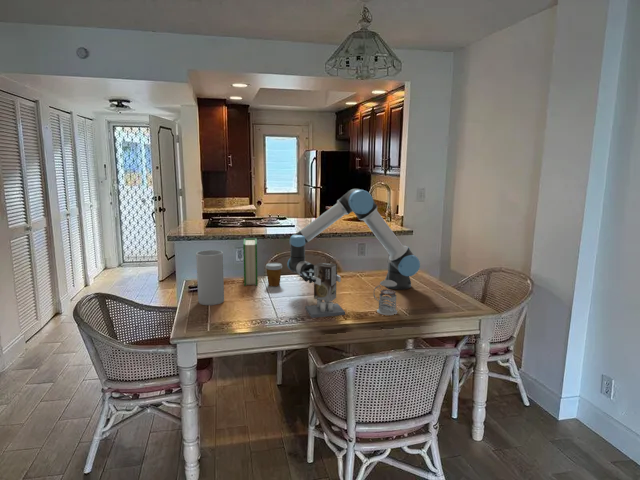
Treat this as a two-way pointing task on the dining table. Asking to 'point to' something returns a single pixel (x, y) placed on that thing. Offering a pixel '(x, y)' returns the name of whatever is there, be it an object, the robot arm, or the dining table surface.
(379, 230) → the robot arm
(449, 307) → the dining table surface
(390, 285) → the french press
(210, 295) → the cylinder vase
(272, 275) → the disposable coffee cup
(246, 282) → the hardback book
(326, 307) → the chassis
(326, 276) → the coffee box
